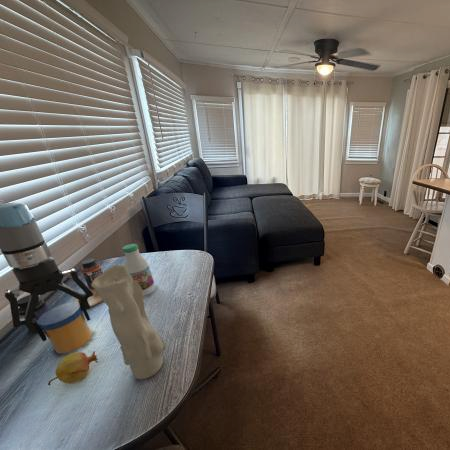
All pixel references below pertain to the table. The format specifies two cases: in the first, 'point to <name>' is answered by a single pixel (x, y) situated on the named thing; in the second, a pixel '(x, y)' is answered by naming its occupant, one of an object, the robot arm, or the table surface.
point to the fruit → (74, 367)
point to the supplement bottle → (91, 271)
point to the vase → (130, 321)
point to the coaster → (92, 299)
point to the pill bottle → (39, 307)
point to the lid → (59, 316)
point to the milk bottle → (138, 268)
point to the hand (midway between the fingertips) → (67, 327)
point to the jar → (70, 335)
